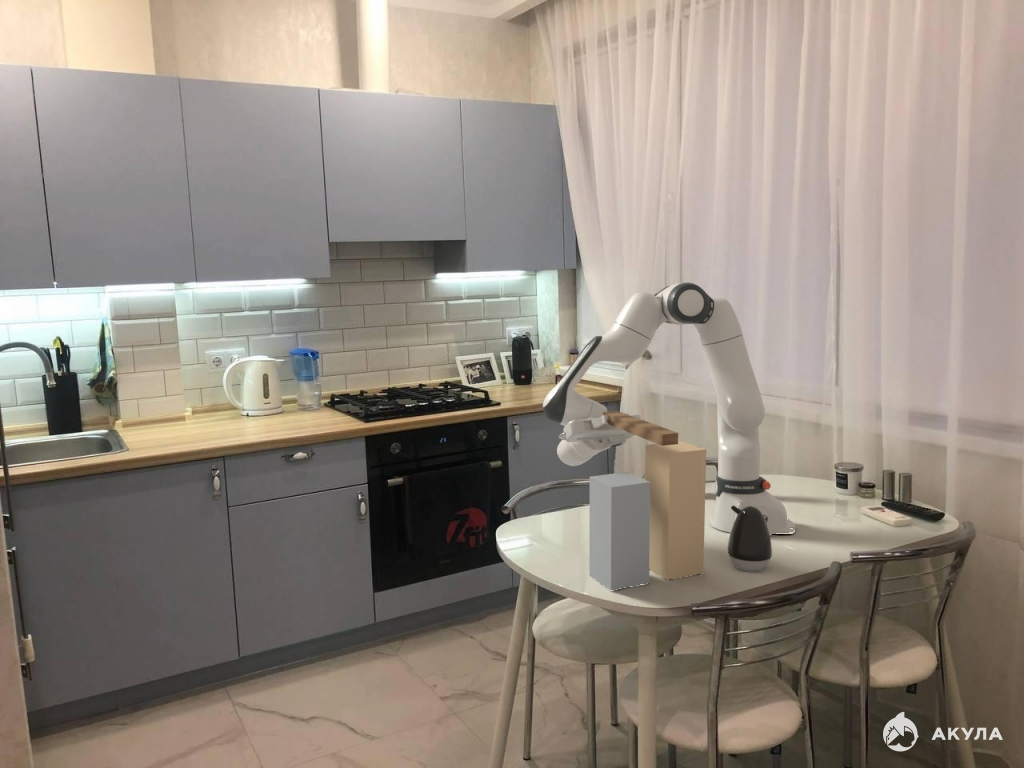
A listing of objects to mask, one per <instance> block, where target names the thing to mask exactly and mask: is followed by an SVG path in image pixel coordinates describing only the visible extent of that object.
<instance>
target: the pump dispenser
mask: <svg viewBox="0 0 1024 768" xmlns="http://www.w3.org/2000/svg"><path fill="white" fill-rule="evenodd" d="M731 509H732V510H733V511H734V512H735V513H737V514H738V515H737V517H736V519H735V521H734V524H733V526H732V529H731V533H729V537H728V543H727V554H728V556H729V560H730V562H731V564H733V566H734V567H735V568H737V570H741V571H743V572H747V571H748V573H755V571H756V572H759V571H762V570H763V569H765V568H766V567H767V566H768V565H769V562H770V559H771V558H772V556H773V547H772V539H771V535H770V533H769V530H768V526H767V523H766V520H765V518H764V516H763V514H762V513H761V511H760V510H759V509H757V508H756V507H752V506H748V507H745V508H743V509H742V510H740V509H739V508H737V507H735V506H734V505H733V506H732V507H731Z"/></svg>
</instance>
